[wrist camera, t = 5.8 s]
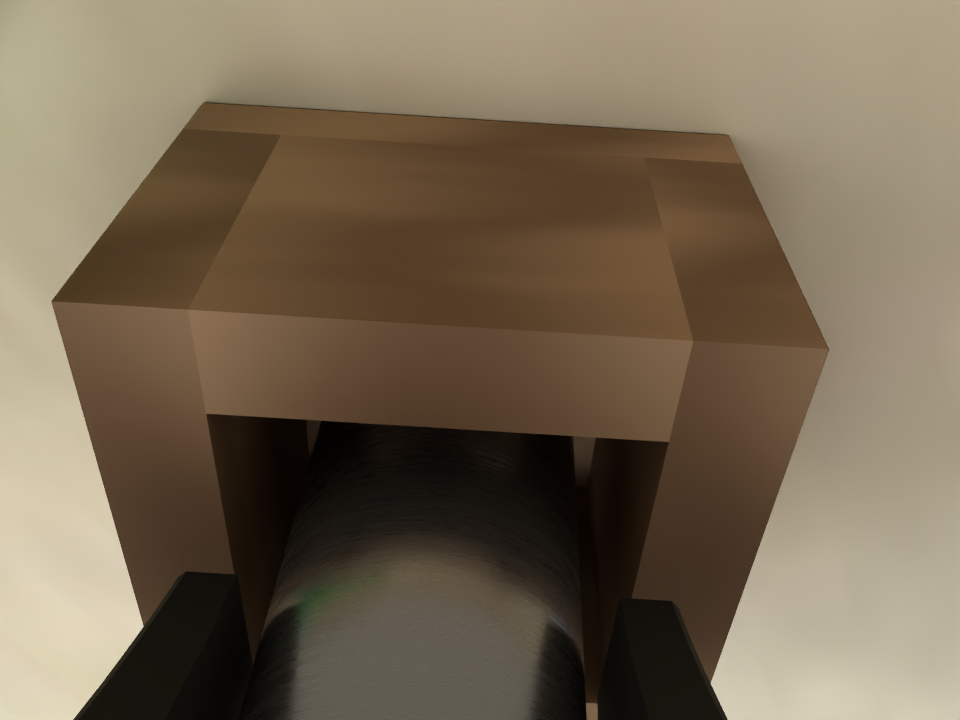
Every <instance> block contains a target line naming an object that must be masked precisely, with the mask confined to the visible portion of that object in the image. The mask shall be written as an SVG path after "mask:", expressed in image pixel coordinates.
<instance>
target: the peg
mask: <svg viewBox="0 0 960 720" xmlns="http://www.w3.org/2000/svg"><path fill="white" fill-rule="evenodd" d="M238 720H587V713H586V692H585V671H584V650H583V629H582V608H581V588H580V567H579V546H578V525H577V504H576V483H575V463H574V442H573V436H563V435H547V434H531V433H514V432H498V431H482V430H465V429H449V428H433V427H417V426H400V425H384V424H368V423H352V422H335V421H321V423H320V426H319V430H318V434H317V437H316V441H315V444H314V448H313V452H312V455H311V459H310V462H309V466H308V470H307V473H306V477H305V480H304V484H303V488H302V491H301V495H300V498H299V502H298V506H297V509H296V513H295V517H294V520H293V524H292V527H291V531H290V535H289V538H288V542H287V545H286V549H285V553H284V556H283V560H282V563H281V567H280V571H279V574H278V578H277V581H276V585H275V589H274V592H273V596H272V599H271V603H270V607H269V610H268V614H267V617H266V621H265V625H264V628H263V632H262V635H261V639H260V643H259V646H258V650H257V653H256V657H255V661H254V664H253V668H252V671H251V675H250V679H249V682H248V686H247V689H246V693H245V697H244V700H243V704H242V707H241V711H240V715H239V718H238Z"/></svg>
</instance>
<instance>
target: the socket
mask: <svg viewBox="0 0 960 720" xmlns="http://www.w3.org/2000/svg"><path fill="white" fill-rule="evenodd" d="M52 305H53V308H54V312H55V315H56V319H57V323H58V326H59V330H60V333H61V337H62V340H63V344H64V347H65V351H66V354H67V358H68V361H69V365H70V368H71V372H72V375H73V379H74V382H75V386H76V389H77V393H78V396H79V400H80V403H81V407H82V410H83V414H84V417H85V421H86V425H87V428H88V432H89V435H90V439H91V442H92V446H93V449H94V453H95V456H96V460H97V463H98V467H99V470H100V474H101V477H102V481H103V484H104V488H105V491H106V495H107V498H108V502H109V505H110V509H111V512H112V516H113V519H114V523H115V527H116V530H117V534H118V537H119V541H120V544H121V548H122V551H123V555H124V558H125V562H126V565H127V569H128V572H129V576H130V579H131V583H132V586H133V590H134V593H135V597H136V600H137V604H138V607H139V611H140V614H141V618H142V621H143V625H144V626H145V624H146V623H147V621H148V620H149V619H150V617H151V616H152V614H153V613H154V611H155V610H156V609H157V607H158V606H159V604H160V603H161V601H162V600H163V598H164V597H165V596H166V594H167V593H168V591H169V590H170V588H171V587H172V585H173V584H174V582H175V581H176V579H177V578H178V577H179V576H180V575H182V574H183V573H184V572H186V571H190V572H206V573H222V574H237V575H238V581H239V586H240V592H241V598H242V604H243V610H244V615H245V621H246V627H247V633H248V639H249V644H250V650H251V656H252V662H253V664H254V661H255V657H256V653H257V650H258V646H259V643H260V639H261V635H262V632H263V628H264V625H265V621H266V617H267V614H268V610H269V607H270V603H271V599H272V596H273V592H274V589H275V585H276V581H277V578H278V574H279V571H280V567H281V563H282V560H283V556H284V553H285V549H286V545H287V542H288V538H289V535H290V531H291V527H292V524H293V520H294V517H295V513H296V509H297V506H298V502H299V498H300V495H301V491H302V488H303V484H304V480H305V477H306V473H307V470H308V466H309V462H310V459H311V455H312V452H313V448H314V444H315V441H316V437H317V434H318V430H319V426H320V423H321V421H335V422H352V423H368V424H384V425H400V426H417V427H433V428H449V429H465V430H482V431H498V432H514V433H531V434H547V435H563V436H573V442H574V463H575V483H576V504H577V525H578V546H579V567H580V588H581V608H582V629H583V650H584V671H585V692H586V713H587V720H598V708H597V696H598V691H599V687H600V683H601V678H602V674H603V669H604V665H605V661H606V656H607V652H608V647H609V643H610V639H611V634H612V630H613V625H614V621H615V617H616V612H617V608H618V603H619V599H620V598H632V599H649V600H665V601H672V602H673V603H674V604H675V605H676V606H677V607H678V608H679V610H680V613H681V615H682V618H683V620H684V623H685V626H686V628H687V631H688V633H689V635H690V638H691V640H692V643H693V645H694V648H695V650H696V652H697V654H698V657H699V659H700V661H701V664H702V666H703V668H704V670H705V673H706V675H707V677H708V679H709V681H710V683H711V680H712V677H713V675H714V672H715V669H716V666H717V663H718V661H719V658H720V655H721V652H722V649H723V646H724V644H725V641H726V638H727V635H728V632H729V630H730V627H731V624H732V621H733V618H734V615H735V613H736V610H737V607H738V604H739V601H740V599H741V596H742V593H743V590H744V587H745V585H746V582H747V579H748V576H749V573H750V570H751V568H752V565H753V562H754V559H755V556H756V554H757V551H758V548H759V545H760V542H761V539H762V537H763V534H764V531H765V528H766V525H767V523H768V520H769V517H770V514H771V511H772V509H773V506H774V503H775V500H776V497H777V494H778V492H779V489H780V486H781V483H782V480H783V478H784V475H785V472H786V469H787V466H788V463H789V461H790V458H791V455H792V452H793V449H794V447H795V444H796V441H797V438H798V435H799V433H800V430H801V427H802V424H803V421H804V418H805V416H806V413H807V410H808V407H809V404H810V402H811V399H812V396H813V393H814V390H815V387H816V385H817V382H818V379H819V376H820V373H821V371H822V368H823V365H824V362H825V359H826V357H827V354H828V351H829V348H828V346H827V344H826V342H825V340H824V337H823V335H822V333H821V331H820V329H819V327H818V325H817V323H816V320H815V318H814V316H813V314H812V312H811V310H810V308H809V305H808V303H807V301H806V299H805V297H804V295H803V293H802V291H801V288H800V286H799V284H798V282H797V280H796V278H795V276H794V274H793V271H792V269H791V267H790V265H789V263H788V261H787V259H786V257H785V254H784V252H783V250H782V248H781V246H780V244H779V242H778V239H777V237H776V235H775V233H774V231H773V229H772V227H771V225H770V222H769V220H768V218H767V216H766V214H765V212H764V210H763V208H762V205H761V203H760V201H759V199H758V197H757V195H756V193H755V191H754V188H753V186H752V184H751V182H750V180H749V178H748V176H747V174H746V171H745V169H744V167H743V165H742V163H741V161H740V159H739V156H738V154H737V152H736V150H735V148H734V146H733V144H732V142H731V139H730V137H729V136H727V135H711V134H695V133H679V132H663V131H647V130H631V129H615V128H599V127H583V126H567V125H551V124H535V123H519V122H503V121H487V120H471V119H455V118H439V117H423V116H407V115H391V114H374V113H358V112H342V111H326V110H310V109H294V108H278V107H262V106H246V105H230V104H214V103H203V104H202V105H201V106H200V107H199V109H198V110H197V111H196V113H195V114H194V115H193V117H192V118H191V119H190V121H189V122H188V123H187V125H186V126H185V127H184V128H183V130H182V131H181V132H180V134H179V135H178V136H177V138H176V139H175V140H174V142H173V143H172V144H171V145H170V147H169V148H168V149H167V151H166V152H165V153H164V155H163V156H162V157H161V159H160V160H159V161H158V162H157V164H156V165H155V166H154V168H153V169H152V170H151V172H150V173H149V174H148V176H147V177H146V178H145V179H144V181H143V182H142V183H141V185H140V186H139V187H138V189H137V190H136V191H135V193H134V194H133V195H132V197H131V198H130V199H129V200H128V202H127V203H126V204H125V206H124V207H123V208H122V210H121V211H120V212H119V214H118V215H117V216H116V217H115V219H114V220H113V221H112V223H111V224H110V225H109V227H108V228H107V229H106V231H105V232H104V233H103V234H102V236H101V237H100V238H99V240H98V241H97V242H96V244H95V245H94V246H93V248H92V249H91V250H90V252H89V253H88V254H87V255H86V257H85V258H84V259H83V261H82V262H81V263H80V265H79V266H78V267H77V269H76V270H75V271H74V272H73V274H72V275H71V276H70V278H69V279H68V280H67V282H66V283H65V284H64V286H63V287H62V288H61V289H60V291H59V292H58V293H57V295H56V296H55V297H54V299H53V300H52Z"/></svg>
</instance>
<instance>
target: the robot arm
mask: <svg viewBox="0 0 960 720" xmlns="http://www.w3.org/2000/svg"><path fill="white" fill-rule="evenodd" d="M252 668H253V662H252V656H251V650H250V644H249V639H248V633H247V627H246V621H245V615H244V610H243V604H242V598H241V592H240V586H239V581H238V575H237V574H222V573H206V572H190V571H186V572H184V573H183V574H182V575H180V576H179V577H178V578H177V579H176V581H175V582H174V584H173V585H172V587H171V588H170V590H169V591H168V593H167V594H166V596H165V597H164V598H163V600H162V601H161V603H160V604H159V606H158V607H157V609H156V610H155V611H154V613H153V614H152V616H151V617H150V619H149V620H148V621H147V623H146V624H145V626H144V627H143V628H142V630H141V631H140V633H139V634H138V635H137V637H136V638H135V640H134V641H133V642H132V644H131V645H130V646H129V648H128V649H127V651H126V652H125V653H124V655H123V656H122V657H121V659H120V660H119V661H118V663H117V664H116V665H115V667H114V668H113V669H112V671H111V672H110V673H109V675H108V676H107V677H106V679H105V680H104V681H103V683H102V684H101V685H100V686H99V688H98V689H97V690H96V692H95V693H94V694H93V695H92V697H91V698H90V699H89V700H88V702H87V703H86V704H85V706H84V707H83V708H82V709H81V711H80V712H79V713H78V714H77V716H76V717H75V718H74V719H73V720H238V718H239V715H240V711H241V707H242V704H243V700H244V697H245V693H246V689H247V686H248V682H249V679H250V675H251V671H252ZM597 708H598V720H727V717H726V715H725V713H724V711H723V709H722V707H721V705H720V703H719V701H718V698H717V696H716V694H715V692H714V690H713V688H712V686H711V684H710V681H709V679H708V677H707V675H706V673H705V670H704V668H703V666H702V664H701V661H700V659H699V657H698V654H697V652H696V650H695V648H694V645H693V643H692V640H691V638H690V635H689V633H688V631H687V628H686V626H685V623H684V620H683V618H682V615H681V613H680V610H679V608H678V607H677V606H676V605H675V604H674V603H673V602H672V601H665V600H649V599H632V598H620V599H619V603H618V608H617V612H616V617H615V621H614V625H613V630H612V634H611V639H610V643H609V647H608V652H607V656H606V661H605V665H604V669H603V674H602V678H601V683H600V687H599V691H598V696H597Z"/></svg>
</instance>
